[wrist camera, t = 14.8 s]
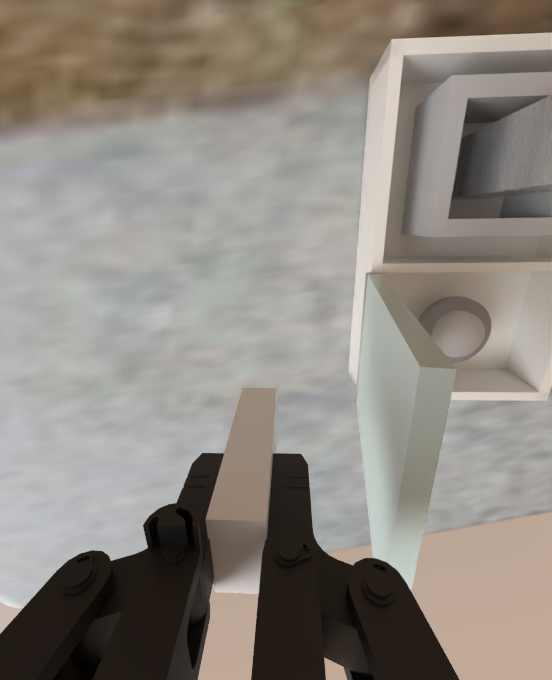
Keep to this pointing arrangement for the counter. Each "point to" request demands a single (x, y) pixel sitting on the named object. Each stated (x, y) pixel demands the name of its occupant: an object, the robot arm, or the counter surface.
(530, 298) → the housing
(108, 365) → the counter surface
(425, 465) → the lid
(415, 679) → the robot arm
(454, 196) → the rectangular gray bar
